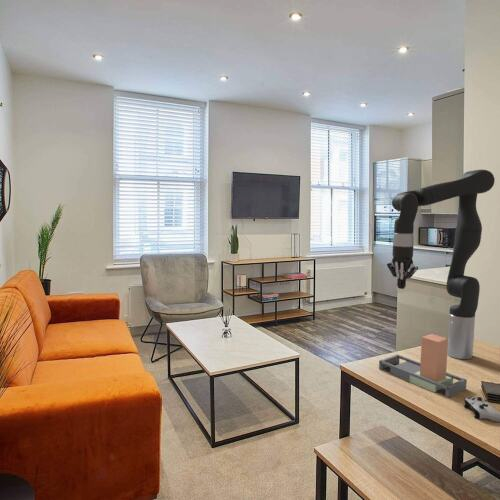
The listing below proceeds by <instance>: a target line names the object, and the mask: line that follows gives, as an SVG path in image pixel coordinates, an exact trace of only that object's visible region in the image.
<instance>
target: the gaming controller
mask: <svg viewBox="0 0 500 500" xmlns="http://www.w3.org/2000/svg"><path fill="white" fill-rule="evenodd" d="M463 407H464V408H467V409H470V410H472V412H474V416H473V417H474V418H475V419H478V420H481V419H485V420H486V419H487V420H490V421H492V422H495V423H500V411H498V410H497V409H495V408H494V407H493V406H492V405H490V404H489V403H488V402H487V399H485V398H484V397H481V396H470V397H466V398H465V399H464V405H463Z"/></svg>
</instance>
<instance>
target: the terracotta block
mask: <svg viewBox="0 0 500 500" xmlns="http://www.w3.org/2000/svg"><path fill="white" fill-rule="evenodd" d="M447 350H448V337H444V336H440V335H437V334H434V333H430V334H426V335H424V336H421V345H420V362H419V363H420V376H423V377H425V378H428V379H430V380H433V381H435V382H437V381H440V380H442V379H444V378H446V372H447V363H448V354H447Z"/></svg>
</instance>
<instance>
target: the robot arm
mask: <svg viewBox="0 0 500 500" xmlns="http://www.w3.org/2000/svg"><path fill="white" fill-rule="evenodd" d="M494 185H495V176H494V174H493V173H492V171H490V170H487V169H476V170H469V171H466V172H464V173H463V174H462V175H461V177H460V178H459V179H455V180H451V181H445V182H441V183H440V182H439V183H436V184H435V183H434V184H432V185H428V186H425V187H424V186H423V187H421V188H418V189H414V190H408V191H404V192H400V193H397V194H396V195H395V196H393V198H392V201H391V206H392V208H393V209H394V210H395V211H398V212H399V216H398V217H397V218H395V220H394V224H393V226H394V228H393V238H392V259H391V262H389V263H387V264H386V266H387V269H388V270H389V271H390V273H391V275H392V277H394V278H396V280H397V281H396V286H397V289H399V290H404V289H405V288H406V285H407V279H411V278H412V277H413V276H414V275H415V273H416V272H417V271H418V270H419V267H418V266H416V265H415V264H414V261H413V257H414V241H415V238H414V225H415V224H414V223H415V219H416V216H417V213H418V210H419V207H425V206H426V207H427V206H429V205H433V204H436V203H440V202H443V201H446V200H450V199H453V198H454V199H455V198H457V197H458V210H457V219H456V227H455V233H454V242H453V243H454V244H453V250H452V255H451V263H450V266H449V270H448V275H447V278H446V284H445V285H446V287H445V288H446V291H447V293H448V294H449V295H450V296H452V297H456V298H459V299H460V302H459V304H455V305H451V306H450V307H449V315H448V317H449V318H448V330H447V331H448V333H447V338H448V350H447V356H450V357H452V358H453V359H459V360H470V359H472V358H473V354H474V342H475V323H476V322H475V321H476V312H477V310H478V304H479V299H480V298H479V297H480V289H481V288H480V287H481V285H480V282H479V280H478V278H476V277H474V276H473V277H472V276H469V275H465V271H466V269H465V268H466V266H467V263H468V262H469V260H470V258H471V257H472V256H473V255H474V254H475V252H476V251H477V249H478V248H479V246H480V245H481V242H482V241H481V240H482V232H483V225H482V222H481V218H480V216H479V213H478V210H477V199H478V198H477V197H478V194H479V195H480V194H484V193H487V192H488V191H490V190H491V189H492V188H493V187H494Z"/></svg>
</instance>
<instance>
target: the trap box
mask: <svg viewBox="0 0 500 500" xmlns="http://www.w3.org/2000/svg"><path fill="white" fill-rule="evenodd" d="M400 360H402V361H404V362H401V363H400ZM378 362H379V363H378V370H380V371H382V370H383V371H386V372H388V373H390V375H392V376H394V377H396V378H400V379H402V380H404V381H407V382H409V383H410V384H411V383H412V384H413V385H416V386H419V387H421V388H423V389H426V390H428V391H430V392H433V393H439V394H441V395H444V397H445V398H447V399H449V398H451V397H453V396H455V395H457V394H459V393H461V392H463V391H464V390H467V380H468V379H466V378H464V377H461V376H458V375H455V374H452V373H449V372H447V371H446V378H444V379H442V380H440V381H437V382H435V381H433V380H430V379H428V378H425V377H423V376H420V362H419V361H416V360H414V359H411V358H408V357H405V356H402V355H400V354H395V355H392V356H388V357H386V358H384V359H380V360H379V361H378ZM454 380H457V381H456V382H454Z"/></svg>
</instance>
